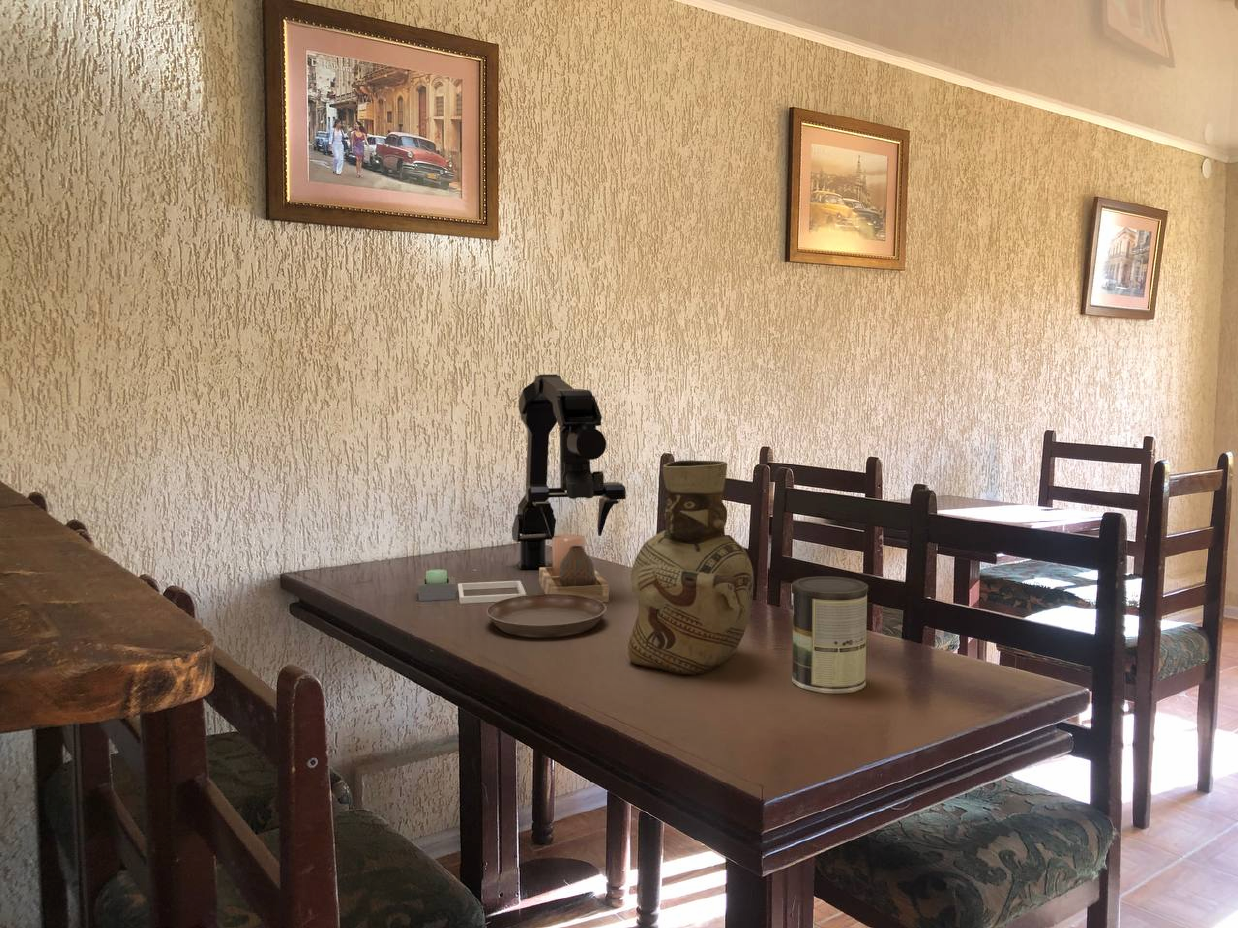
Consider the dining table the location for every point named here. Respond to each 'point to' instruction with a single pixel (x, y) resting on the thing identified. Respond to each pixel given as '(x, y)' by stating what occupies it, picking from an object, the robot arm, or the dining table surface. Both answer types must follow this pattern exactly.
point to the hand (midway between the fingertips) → (575, 536)
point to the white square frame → (489, 585)
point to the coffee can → (829, 634)
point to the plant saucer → (546, 614)
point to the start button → (436, 576)
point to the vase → (576, 568)
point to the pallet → (554, 586)
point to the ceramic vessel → (691, 578)
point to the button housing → (436, 590)
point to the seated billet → (564, 548)
